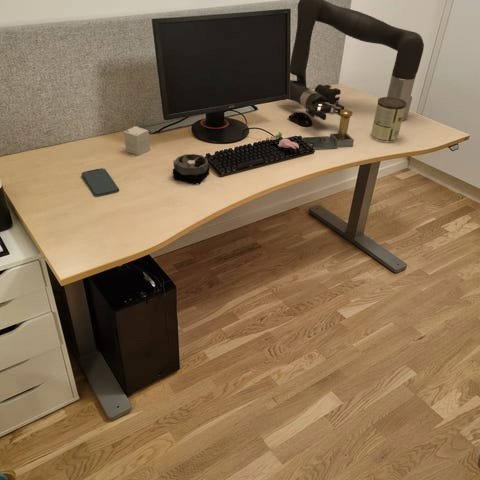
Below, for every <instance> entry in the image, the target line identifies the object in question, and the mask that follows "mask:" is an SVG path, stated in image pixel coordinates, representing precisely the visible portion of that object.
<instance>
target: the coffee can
mask: <svg viewBox="0 0 480 480" xmlns="http://www.w3.org/2000/svg"><path fill="white" fill-rule="evenodd" d="M406 104H407V103H406V102H405V101H404V100H402V99H398V98H394V97H387V96H384V97H380V98H378V99H377V104H376V110H375V114H374V117H373V118H374V120H373V124H372V129H371V134H370V137H371V139H372V140H375V141H377V142H380V143H387V144H388V143H390V144H391V143H396V142H397V141H398V139H399V135H400V131H401V126H402V123H403V121H402V119H403V115H404V111H405V107H406Z"/></svg>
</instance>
